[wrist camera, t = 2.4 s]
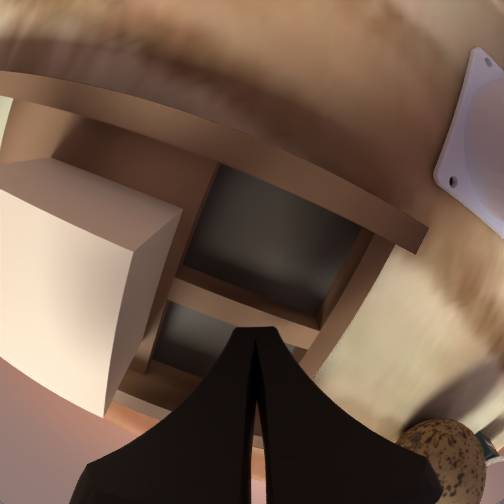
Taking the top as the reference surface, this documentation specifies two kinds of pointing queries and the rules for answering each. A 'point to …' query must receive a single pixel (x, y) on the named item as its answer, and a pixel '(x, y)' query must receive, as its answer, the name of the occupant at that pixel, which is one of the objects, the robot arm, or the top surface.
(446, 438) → the decorative egg
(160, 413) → the box
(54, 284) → the ivory block
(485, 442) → the watch
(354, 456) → the robot arm
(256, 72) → the top surface
